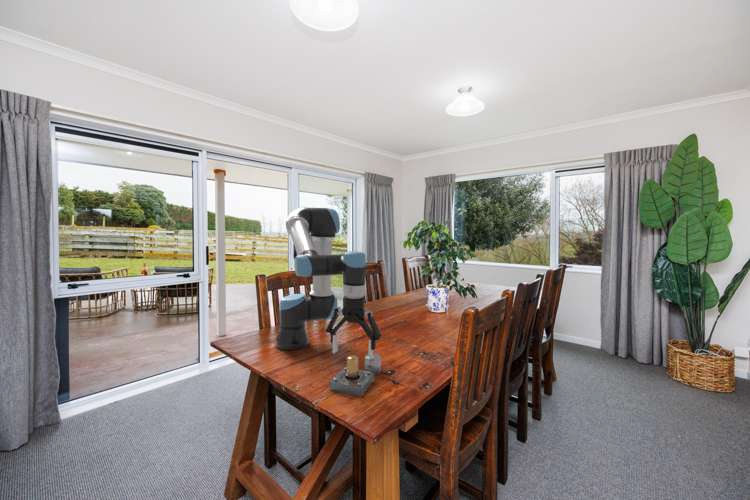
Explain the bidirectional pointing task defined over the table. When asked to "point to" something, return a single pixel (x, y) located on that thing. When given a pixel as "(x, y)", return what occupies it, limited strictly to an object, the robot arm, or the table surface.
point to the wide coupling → (373, 363)
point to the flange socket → (352, 382)
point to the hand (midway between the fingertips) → (352, 355)
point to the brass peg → (352, 367)
